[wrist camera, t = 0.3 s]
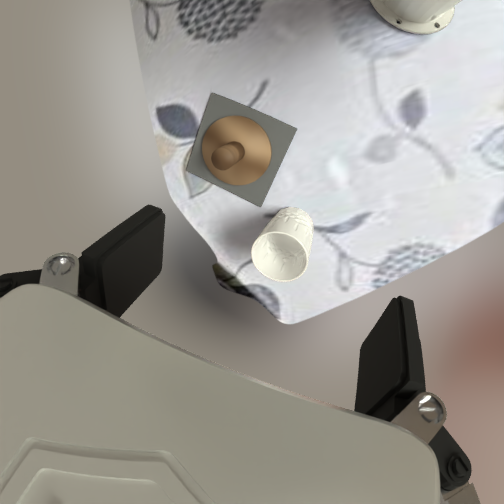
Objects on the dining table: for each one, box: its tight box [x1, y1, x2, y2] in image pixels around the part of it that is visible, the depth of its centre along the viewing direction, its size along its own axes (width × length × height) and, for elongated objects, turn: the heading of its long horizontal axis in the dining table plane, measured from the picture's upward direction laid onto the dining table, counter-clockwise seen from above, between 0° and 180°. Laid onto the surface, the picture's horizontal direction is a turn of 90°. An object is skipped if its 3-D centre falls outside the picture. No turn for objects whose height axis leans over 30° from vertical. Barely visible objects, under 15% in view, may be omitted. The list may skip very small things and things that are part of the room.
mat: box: [186, 93, 297, 207], centre depth 45 cm, size 14×14×1 cm
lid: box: [202, 115, 272, 185], centre depth 43 cm, size 11×11×6 cm
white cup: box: [251, 207, 314, 282], centre depth 45 cm, size 8×8×10 cm
